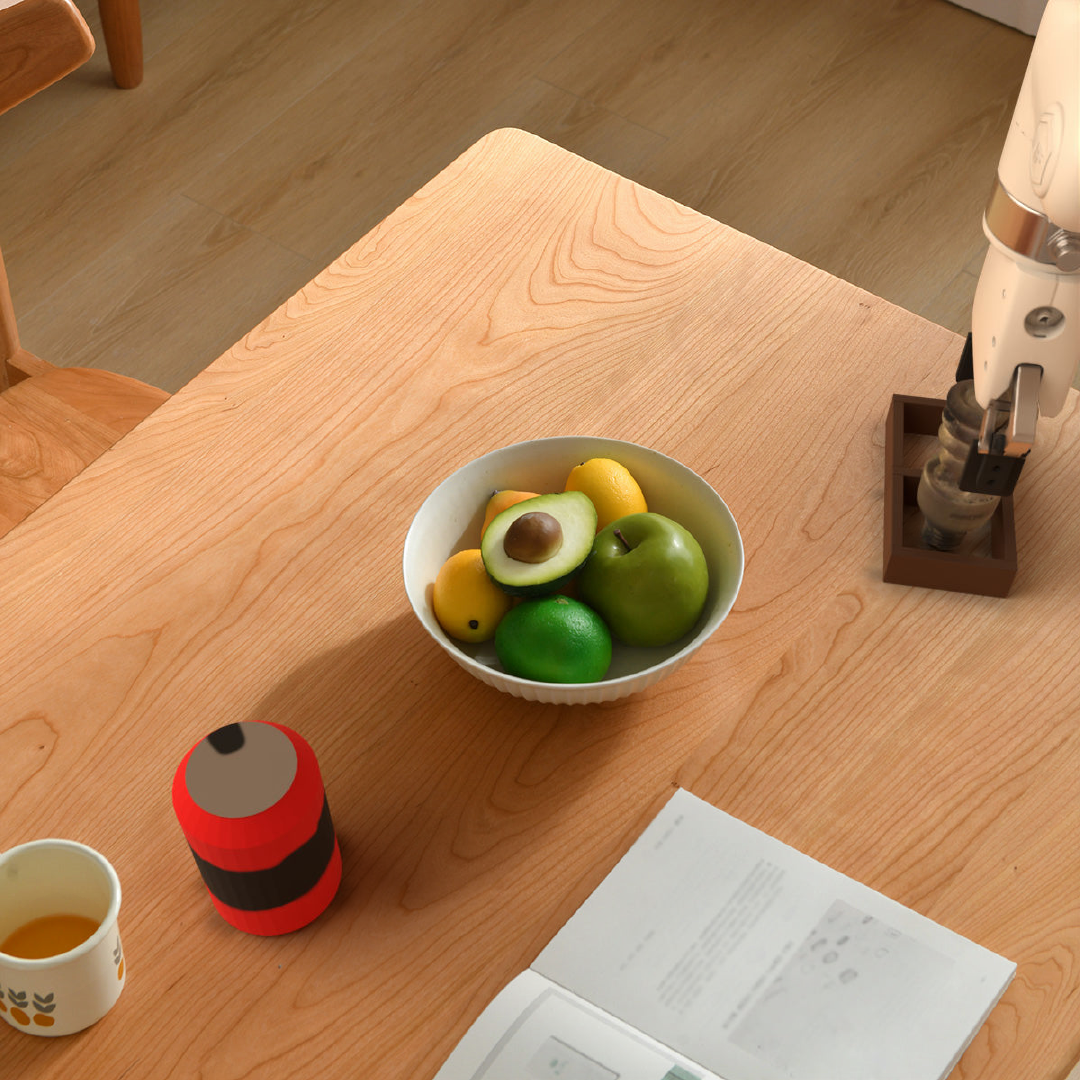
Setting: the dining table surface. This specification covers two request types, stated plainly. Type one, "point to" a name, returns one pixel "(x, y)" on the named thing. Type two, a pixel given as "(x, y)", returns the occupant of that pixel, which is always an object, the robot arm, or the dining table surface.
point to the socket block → (903, 489)
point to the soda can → (259, 826)
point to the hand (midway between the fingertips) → (981, 435)
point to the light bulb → (956, 471)
